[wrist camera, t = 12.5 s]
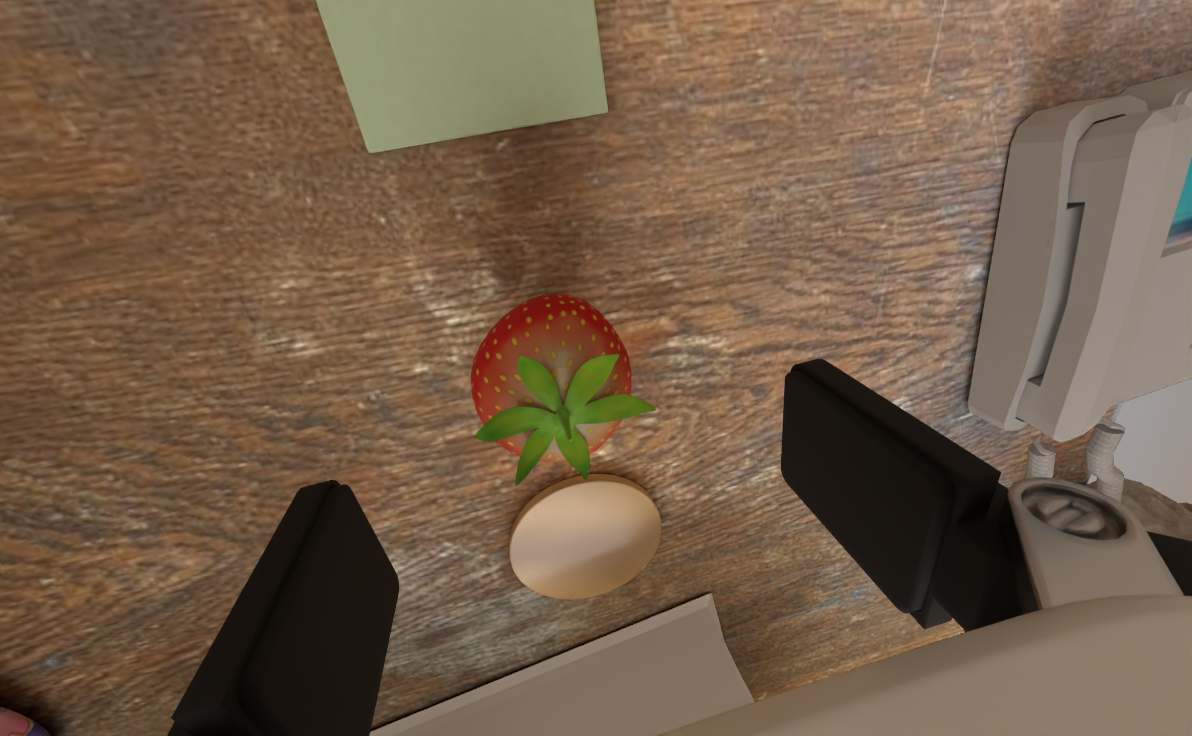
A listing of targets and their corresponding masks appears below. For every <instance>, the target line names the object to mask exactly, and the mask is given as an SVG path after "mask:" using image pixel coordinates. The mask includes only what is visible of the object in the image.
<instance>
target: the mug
mask: <svg viewBox="0 0 1192 736" xmlns="http://www.w3.org/2000/svg"><path fill="white" fill-rule="evenodd" d="M0 736H51V735H50V734H49V733H48V732H47V731H46V730H45V729H44V728H43V727H42V726H40V725H39V724H38V723H36V722H35V721H33V720H31V719H29V718H28V717H26V716H24V715H21V714H19V713H17V712H14V711H11V710H9V709H5V708H2V707H0Z"/></svg>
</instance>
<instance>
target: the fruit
mask: <svg viewBox="0 0 1192 736" xmlns="http://www.w3.org/2000/svg"><path fill="white" fill-rule="evenodd" d="M471 385H472V396H473V400H474V404H475V407H476V410H477V413H478V415H479V417H480V419H481V421H482V423H483V425H484V426H483V427H482V428H481V429H480V430H478V432H477V433H476V435H475V438H477V439H480V440H482V441H487V442H494V441H496V442H497V443H499V444H500V445H501V446H503V447H504V448H505V449H507V450H508V451H510V452H511V453H513V454H515V455H517V456H520V460H519V465H518V469H517V475H516V481H515V486H517V485H518V484H519V483H520V482H521V481H522V480H523V479H524V478H525V477H526V476H527V475H528V473H529V472H530V471H531V470H532V469H533V467H534V466H535V465H536V464H537V462H538V461H540V462H565V461H568V462H569V463H570V464H571V465H572V466H573V467H574V468H575V469H576V470H577V471H578V472H579V473H580V474H581V475H582V477H583V478H584V480H587V477H588V472H589V466H590V455H589V454H590V453H592V452H594V451H596V450H597V449H598V448H599V447H600V446H601V445H602V444H603V443H605V442H606V441H607V440H608V438H609V437H610V436H611V435H612V434H613V433H614V431H615V430H616V429H617V427H618V426H619V424H620V422H621V421H622V419H625V418H629V417H632V416H635V415H638V414H641V413H644V412H648V411H655V410H656V409H655V408H654V407H652V406H651V405H650V404H648V403H647V402H645V401H644V400H642V399H640V398H638V397H635V396H632V395H630V393H631V367H630V362H629V357H628V354H627V351H626V349H625V347H624V345H623V343H622V341H621V339H620V337H619V336H618V334H617V333H616V331H615V330H614V329H613V327H612V326H611V324H610V323H609V322H608V321H607V320H606V319H605V317H604V316H603V315H602V314H601V313H600V312H599V311H598V310H597V309H595V308H594V307H593V306H591V305H590V304H589V303H587V302H585V301H583V300H580V299H577V298H575V297H572V296H568V295H560V294H551V295H543V296H539V297H536V298H533V299H530V300H527V301H525V302H524V303H522V304H520V305H519V306H517V307H516V308H514V309H513V310H511V311H510V312H509V313H508V314H506V315H505V316H504V317H503V318H502V319H501V320H500V321H499V322H498V323H497V324H496V325H495V326H494V327H493V328H492V329H491V331H490V332H489V333H488V335H487V336H486V338H485V339H484V340H483V342H482V343H481V346H480V348H479V350H478V352H477V354H476V356H475V359H474V362H473V367H472V373H471Z"/></svg>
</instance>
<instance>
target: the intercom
mask: <svg viewBox="0 0 1192 736" xmlns="http://www.w3.org/2000/svg"><path fill="white" fill-rule="evenodd" d="M1191 378H1192V70H1190V71H1186V72H1182V73H1178V74H1175V75H1171V76H1167V77H1163V78H1160V79H1156V80H1152V81H1148V82H1145V83H1141V84H1137V85H1133V86H1130V87H1128V88H1127V89H1126V90H1124V91H1123V92H1122V93H1121V94H1119V95H1118V96H1117V97H1108V98H1100V99H1092V100H1083V101H1075V102H1070V103H1066V104H1062V105H1059V106H1055V107H1051V108H1047V109H1044V110H1040V111H1036V112H1034V113H1033V114H1032V115H1031V116H1030V117H1028V118H1027V119H1026V120H1025V121H1024V122H1023V123H1021V124H1020V125H1019V126H1018V128H1017V130H1016V133H1015V135H1014V138H1013V140H1012V143H1011V147H1010V153H1009V159H1008V165H1007V171H1006V177H1005V183H1004V189H1003V195H1002V201H1001V207H1000V213H999V219H998V225H997V231H996V237H995V243H994V249H993V255H992V261H991V267H990V273H989V279H988V285H987V291H986V297H985V303H984V309H983V315H982V321H981V327H980V333H979V339H978V345H977V351H976V357H975V363H974V369H973V375H972V381H971V387H970V393H969V400H968V407H969V410H970V412H971V413H973V414H975V415H977V416H978V417H980V418H982V419H984V420H986V421H987V422H989V423H991V424H993V425H995V426H997V427H998V428H1000V429H1002V430H1004V431H1016V430H1019V429H1022V428H1025V427H1027V426H1030V425H1032V426H1033V427H1035V428H1036V429H1038V430H1039V431H1041V432H1042V433H1043V434H1046V435H1047V436H1049V437H1050V438H1052V439H1054V440H1056V441H1058V442H1060V443H1061V442H1064V441H1067V440H1070V439H1073V438H1076V437H1078V436H1081V435H1083V434H1084V433H1086V432H1087V431H1088V430H1090V429H1091V428H1092V427H1094V426H1095V425H1096V424H1098V423H1099V422H1101V423H1103V424H1098V425H1096V427H1095V429H1094V431H1093V433H1092V435H1091V437H1090V439H1089V441H1088V443H1087V445H1086V462H1087V469H1088V471H1089V472H1091V473H1092V474H1093V475H1095V476H1096V477H1097V490H1098V491H1100V492H1102V493H1104V494H1106V495H1108V496H1109V497H1111V498H1113V499H1115V500H1117V501H1118V502H1120V503H1121V500H1122V491H1123V482H1124V475H1123V473H1122V472H1121V471H1120V470H1119V469H1117V468H1116V467H1115V466H1114V464H1113V453H1114V450H1115V449H1116V447H1117V445H1118V443H1119V442H1120V440H1121V438H1122V436H1123V434H1124V430H1125V428H1124V427H1123V426H1121V425H1119V424H1116V423H1114V422H1111V421H1110V420H1108V419H1106V418H1105V417H1103V415H1104V414H1105V412H1106V411H1107V410H1108V407H1111V406H1114V405H1117V404H1120V403H1122V402H1125V401H1128V400H1131V399H1134V398H1137V397H1140V396H1142V395H1145V394H1148V393H1151V392H1154V391H1157V390H1160V389H1163V388H1166V387H1168V386H1171V385H1174V384H1177V383H1180V382H1183V381H1186V380H1189V379H1191ZM1043 434H1041V435H1039V437H1038V438H1037V439H1036V441H1035V442H1034V443H1033V444H1031V445H1030V446H1029V449H1028V466H1027V470H1026V474H1025V477H1024V478H1031V477H1048V478H1052V476H1053V472H1054V465H1055V454H1056V449H1055V447H1054V446H1052V445H1051V444H1048V443H1044V442H1040V439H1041V436H1042V435H1043Z"/></svg>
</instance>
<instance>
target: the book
mask: <svg viewBox="0 0 1192 736" xmlns="http://www.w3.org/2000/svg"><path fill="white" fill-rule="evenodd" d="M753 702H755V701H754V699H753V697H752V695H751V693H750V691H749V689H748V688H747V686H746V684H745V682H744V680H743V679H742V677H741V675H740V673H739V671H738V668H737V666H736V664H735V662H734V660H733V658H732V656H731V654H730V652H729V650H728V648H727V646H726V644H725V641H724V637H723V633H722V630H721V626H720V622H719V618H718V615H717V611H716V607H715V603H714V599H713V596H712V593H710V594H707V595H705V596H702V597H700V598H698V599H695V600H693V601H690V602H688V603H685V604H683V605H680V606H678V607H675V608H673V609H671V610H668V611H666V612H663V613H661V614H658V615H656V616H653V617H651V618H648V619H646V620H644V621H641V622H639V623H636V624H634V625H631V626H629V627H626V628H624V629H621V630H619V631H617V632H614V633H612V634H609V635H607V636H604V637H602V638H599V639H597V640H595V641H592V642H590V643H587V644H585V645H582V646H580V647H577V648H575V649H572V650H570V651H568V652H565V653H563V654H560V655H558V656H555V657H553V658H550V659H548V660H545V661H543V662H541V663H538V664H536V665H533V666H531V667H528V668H526V669H523V670H521V671H518V672H516V673H514V674H511V675H509V676H506V677H504V678H501V679H499V680H496V681H494V682H492V683H489V684H487V685H484V686H482V687H479V688H477V689H474V690H472V691H469V692H467V693H465V694H462V695H460V696H457V697H455V698H452V699H450V700H447V701H445V702H442V703H440V704H438V705H435V706H433V707H430V708H428V709H425V710H423V711H420V712H418V713H415V714H413V715H411V716H408V717H406V718H403V719H401V720H398V721H396V722H393V723H391V724H388V725H386V726H384V727H381V728H379V729H376V730H374V731H371V732H370V736H656V735H659V734H662V733H665V732H667V731H670V730H673V729H676V728H679V727H682V726H685V725H688V724H691V723H694V722H697V721H700V720H703V719H706V718H709V717H712V716H715V715H718V714H721V713H724V712H727V711H730V710H733V709H735V708H738V707H741V706H744V705H747V704H750V703H753Z"/></svg>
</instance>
